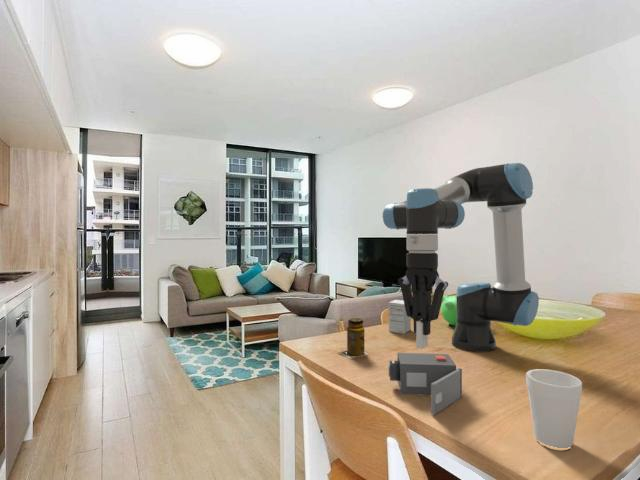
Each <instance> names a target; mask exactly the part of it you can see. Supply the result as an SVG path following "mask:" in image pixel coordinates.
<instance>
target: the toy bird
mask: <svg viewBox="0 0 640 480" xmlns="http://www.w3.org/2000/svg"><path fill="white" fill-rule="evenodd" d="M456 296H457V294H451V295H446V294H444V295H443V299H442V303H441V308H440V313H441V315H442V318H443V319H444V320H445V321H446V323H448V324H450V325H452V326H454V327H456V325H457V298H456Z"/></svg>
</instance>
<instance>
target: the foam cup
mask: <svg viewBox="0 0 640 480" xmlns="http://www.w3.org/2000/svg"><path fill="white" fill-rule="evenodd" d="M525 377H526V378H525V384H526V388H527V391H528V398H529V405H530V407H529V408H530V413H531V420H532V428H533V435H534V438H535V437H536V439H537V440H539V441H540V442H542V443H544V444H546V445H549V446H553V447H557V448H568V447H571V446H572V447H573V444H574V439H575V435H576V434H575V433H576V426H577V421H578V414H579V410H580V402H581V397H582V396H583V382H582V381H581V380H580V378H579V377H576V376H574V375H572V374H570V373H567V372H563V371H560V370H554V369H547V368H546V369H545V368H543V369H542V368H541V369H540V368H536V369H529V370H528V371H527V372H526V373H525ZM536 439H535V440H536Z"/></svg>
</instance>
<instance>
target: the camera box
mask: <svg viewBox="0 0 640 480" xmlns="http://www.w3.org/2000/svg"><path fill="white" fill-rule="evenodd" d="M396 354H397V355H396V356H397V360H389V364H388V377H389V380H390V382H391V381H392V382H394V381H395V382H397V383H398V387H399V392H400V395H409V396H411V395H413V396H431V383H433V382H435V381H437V380H439V379H441V378H442V377H444V376H446V375H448V374H450V373H451V372H453V371H455V370H457V364H456V363H455V361H454V360H453V359H452V357H451V356H450V355H449V354H448V353H420V352H419V353H415V352H412V353H411V352H397V353H396Z"/></svg>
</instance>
